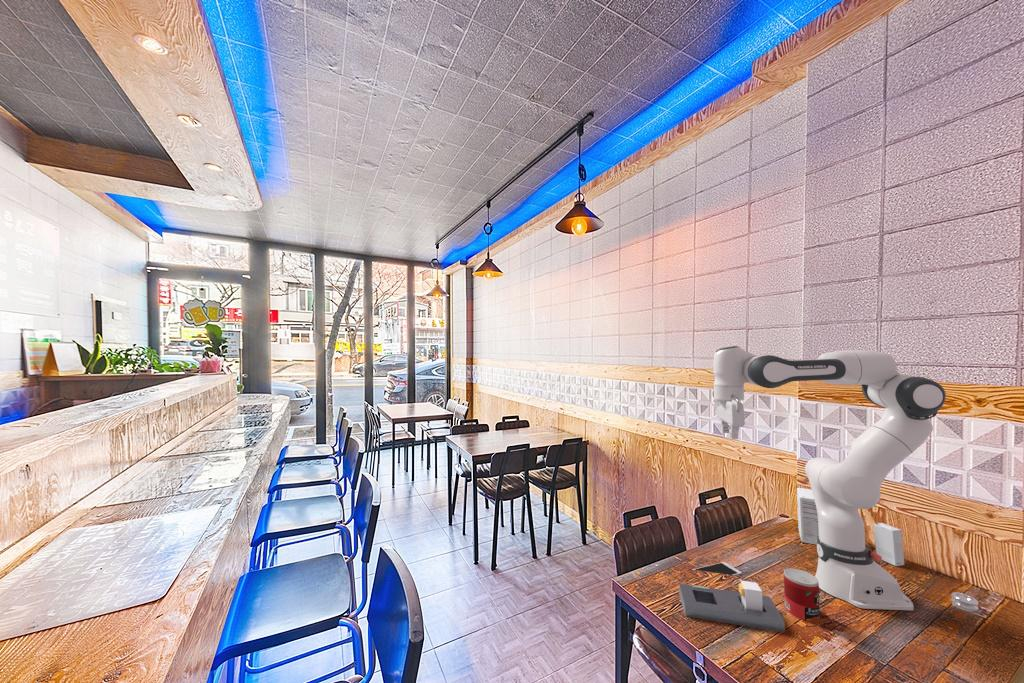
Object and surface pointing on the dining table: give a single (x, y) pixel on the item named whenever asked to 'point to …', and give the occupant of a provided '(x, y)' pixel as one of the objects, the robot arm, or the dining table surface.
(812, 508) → the supplement box
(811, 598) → the canned food
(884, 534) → the skincare box
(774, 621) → the panel
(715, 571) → the smartphone
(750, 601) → the plug
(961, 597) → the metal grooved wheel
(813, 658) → the dining table surface
